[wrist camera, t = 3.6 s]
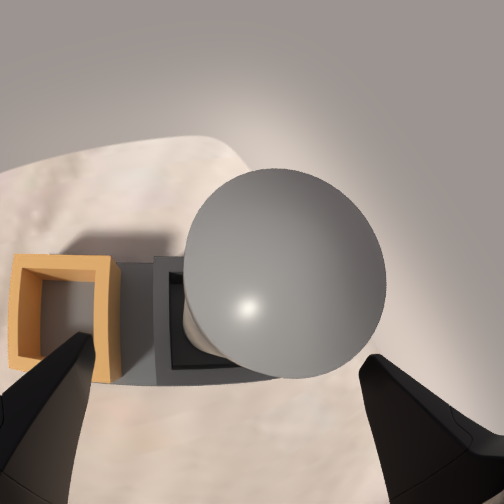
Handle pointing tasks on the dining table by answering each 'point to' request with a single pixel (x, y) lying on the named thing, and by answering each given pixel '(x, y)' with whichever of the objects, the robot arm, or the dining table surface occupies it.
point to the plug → (282, 275)
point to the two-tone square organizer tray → (111, 320)
